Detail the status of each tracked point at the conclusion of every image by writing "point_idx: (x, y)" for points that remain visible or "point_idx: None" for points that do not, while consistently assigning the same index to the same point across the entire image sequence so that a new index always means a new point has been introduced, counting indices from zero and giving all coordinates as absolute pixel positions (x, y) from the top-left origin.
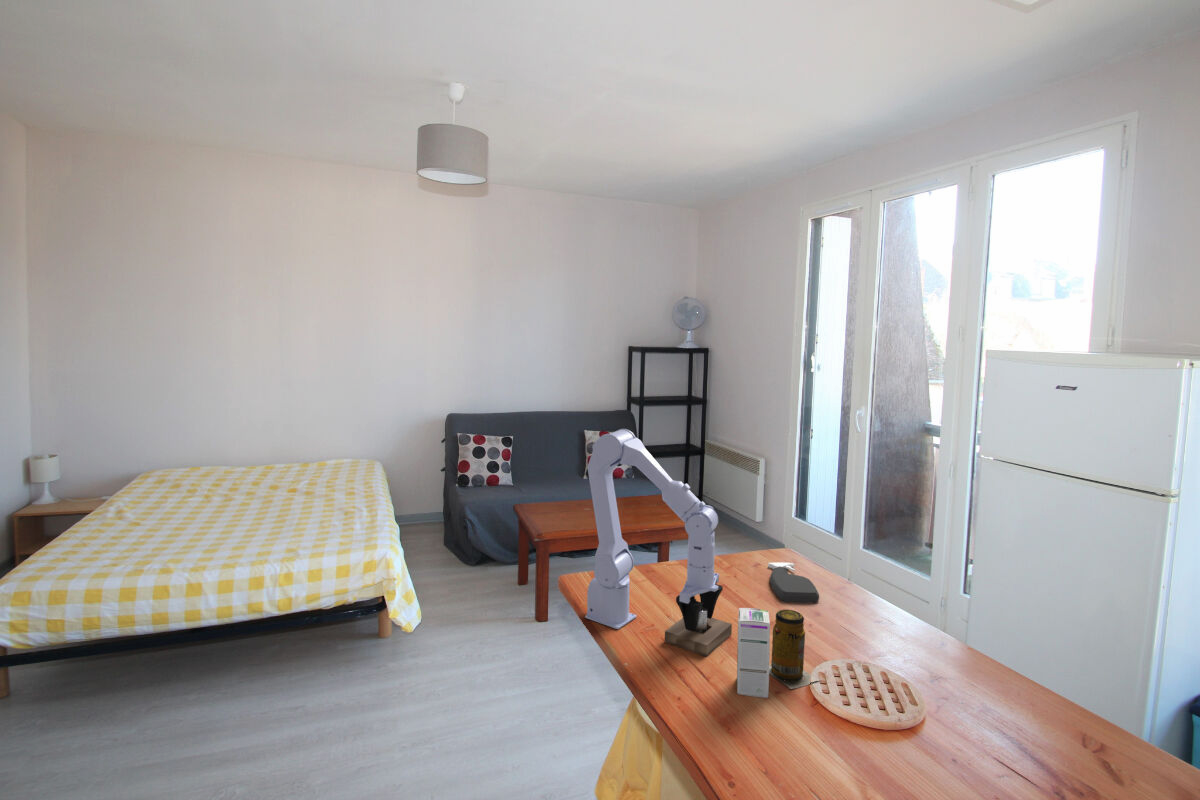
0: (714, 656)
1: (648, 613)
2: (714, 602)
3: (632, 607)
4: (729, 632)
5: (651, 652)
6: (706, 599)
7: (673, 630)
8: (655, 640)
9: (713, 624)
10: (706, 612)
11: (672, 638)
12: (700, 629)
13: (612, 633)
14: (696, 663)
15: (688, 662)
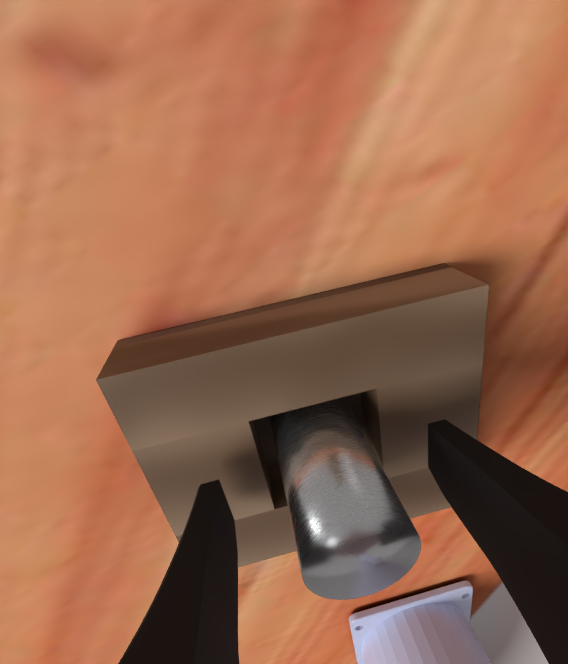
0: (410, 237)
1: (288, 619)
2: (200, 603)
3: (296, 658)
4: (144, 345)
5: (542, 428)
6: (225, 655)
7: None
8: None
9: (220, 435)
10: (352, 517)
11: None
12: (357, 427)
13: (493, 567)
14: (530, 253)
15: (540, 285)
